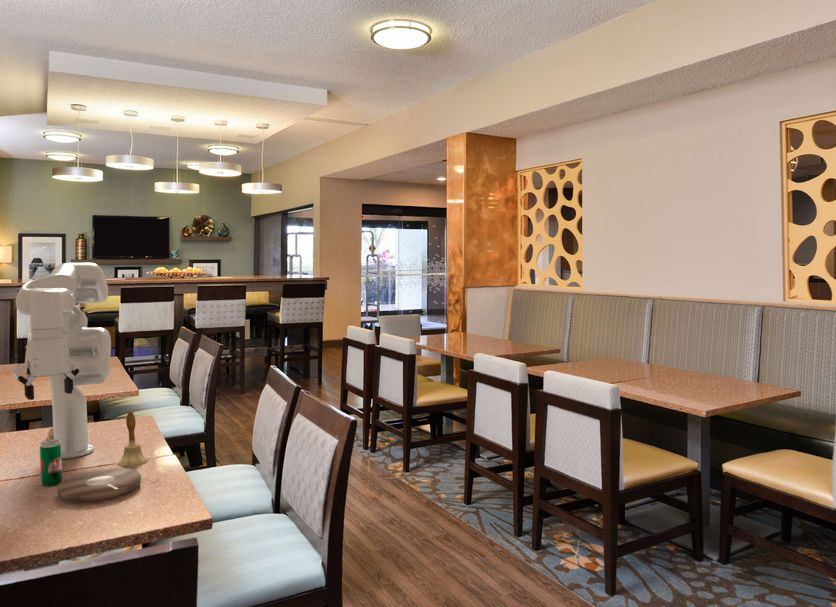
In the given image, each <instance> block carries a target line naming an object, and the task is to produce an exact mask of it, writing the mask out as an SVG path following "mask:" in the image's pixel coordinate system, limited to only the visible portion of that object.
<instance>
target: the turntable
mask: <svg viewBox="0 0 836 607" xmlns="http://www.w3.org/2000/svg"><path fill="white" fill-rule="evenodd" d="M141 482H142V475H141V473H140V472H139V471H138V470H135V469H131V468H120V467H119V468H117V467H116V468H114V467H113V468H103V469H102V468H101V469H98V470H96V469H95V470H91V471H86V472H83V473H78V474H76V475H73V476H70V477H69V478H66V479H64V480H62V481H61V482H60V483H59V484H57V497H59V498H60V499H62V500H65V501H70V502H89V501H99V500H104V499H105V498H106V499H109V498H113V497H117V496H120V495H124V494H126V493H128V492H130V491H132V490H134V489H136V488H137V487H139V485H141ZM106 499H105V500H106Z"/></svg>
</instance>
